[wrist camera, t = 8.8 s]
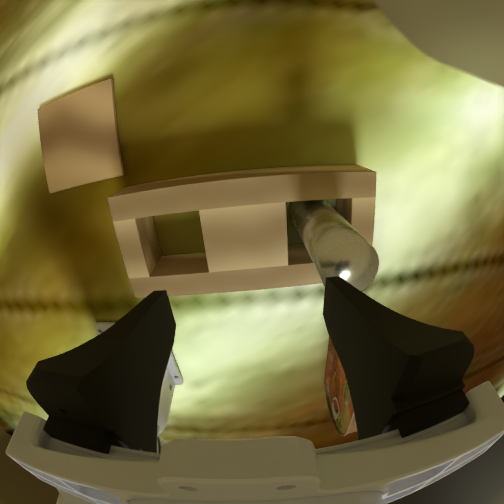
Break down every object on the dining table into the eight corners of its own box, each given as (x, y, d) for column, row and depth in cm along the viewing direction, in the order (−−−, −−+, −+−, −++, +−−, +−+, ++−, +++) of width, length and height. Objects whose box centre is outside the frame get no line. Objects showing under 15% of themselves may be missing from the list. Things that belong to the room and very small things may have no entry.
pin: (330, 223, 22) (379, 285, 13) (294, 233, 22) (325, 302, 13) (323, 188, 20) (376, 233, 12) (285, 197, 21) (315, 250, 12)
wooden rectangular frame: (353, 257, 23) (368, 277, 20) (147, 275, 23) (135, 297, 20) (356, 164, 20) (376, 172, 16) (126, 186, 20) (107, 197, 17)
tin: (331, 301, 25) (360, 367, 17) (362, 296, 25) (398, 357, 17) (322, 393, 31) (335, 448, 24) (345, 389, 31) (361, 441, 24)
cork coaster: (124, 174, 19) (122, 175, 19) (52, 192, 19) (49, 193, 19) (113, 78, 16) (111, 78, 16) (40, 109, 16) (37, 109, 16)
